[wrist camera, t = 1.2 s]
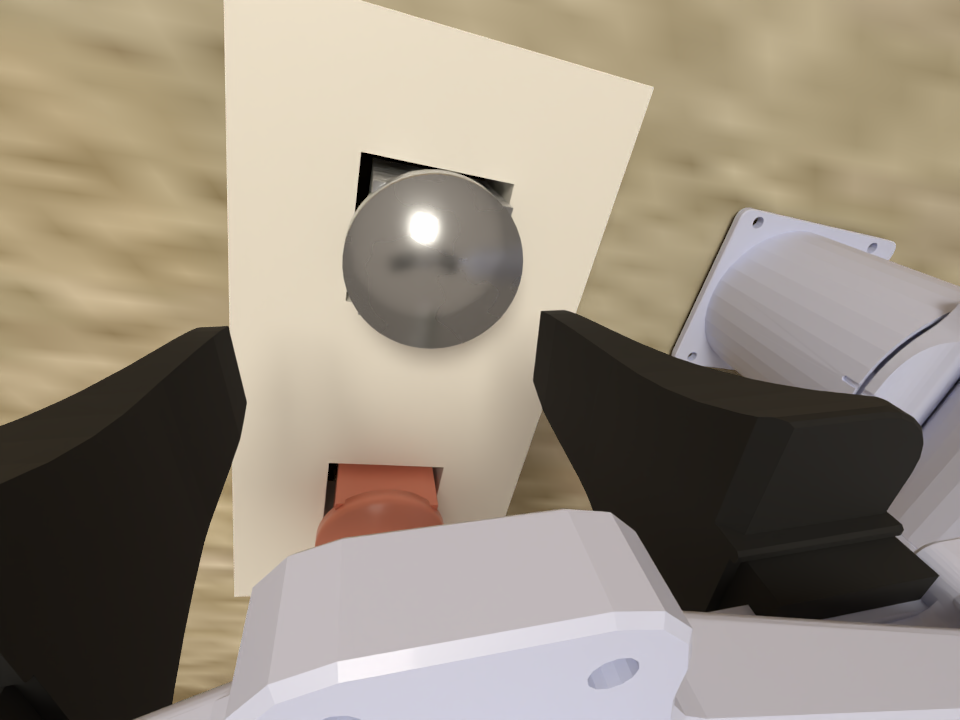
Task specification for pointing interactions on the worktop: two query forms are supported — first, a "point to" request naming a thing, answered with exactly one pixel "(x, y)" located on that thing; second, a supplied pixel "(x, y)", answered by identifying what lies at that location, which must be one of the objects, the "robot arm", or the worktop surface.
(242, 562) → the control box
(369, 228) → the grey button
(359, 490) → the red button
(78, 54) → the worktop surface
